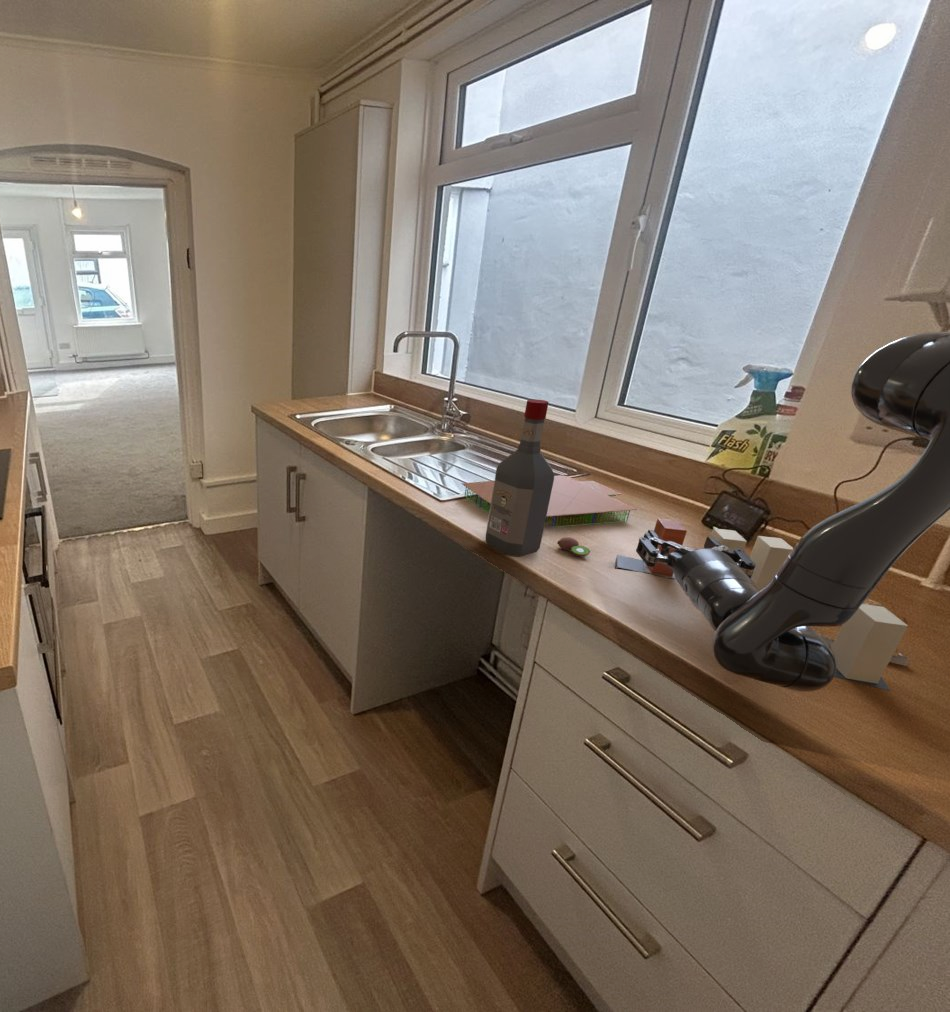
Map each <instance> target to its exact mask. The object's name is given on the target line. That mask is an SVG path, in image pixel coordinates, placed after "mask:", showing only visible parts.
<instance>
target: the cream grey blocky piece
mask: <svg viewBox="0 0 950 1012" xmlns="http://www.w3.org/2000/svg"><path fill="white" fill-rule="evenodd" d="M709 537H713V538H714V539H715V540H717V541H719V542H720V543H721V544H722V545H723V546H726V547H728V548H729V549H728V550H732V551H734V549H741V550H743V551H744V552H745V548H746V546H747V543H748V541H747V540H746V539H745V538H744V537H743V536H742V535H741V534H740V533H738V531H736V530H733V529H725V528H724V529H723V528H714V527H713V528H712V531H711V534H710V536H709ZM792 549H793V546H792V545H790V544H789V543H787V541H785V540H784V539H782V538H781V537H773V536H765V535H764V536H763V535H757V537H756V539H755V542H754V545H753V548H752V550H751V552H750V555H749V557H750V559H751V560H752V561H753V562H754V563H755V564H756V566H755V569H754V571H753V574H752V576H751V580H752V581H753V583H754V584H755V586H756V588H757V589H758V590H759V591H760V590H762V589H763V588H764V587H766V586H767V585H768V584H769V583H770V582H771V581H772V579H773V578H774V576H775V575H776V574H777V572H778V570H779V569H780V567H781V566H782V564H783V563H784V561H785V560H786V558H787V556H788V555H789V553H790V552H791V550H792ZM614 562H615V564H614V565H615V566H614V567H615V568H614V569H615V570H620V571H627V572H628V571H629V572H635V573H643V574H646V575H653V576H656V577H661V578H666V579H671V580H676V578H675V575H674V573H673V576H668V575H661V574H654V573H651V571H650V570H649V568H648V566H647V565H646V564H645V562H644V561H643V560H642V559H639V558H635V557H634V558H633V557H629V556H624V555H619V554H617V555H616V558H615V561H614ZM676 581H677V580H676Z"/></svg>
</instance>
